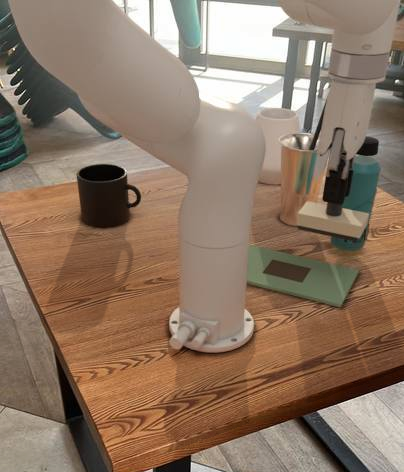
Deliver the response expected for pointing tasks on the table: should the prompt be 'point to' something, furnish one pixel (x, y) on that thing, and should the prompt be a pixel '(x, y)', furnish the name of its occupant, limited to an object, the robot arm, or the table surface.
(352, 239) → the scrub brush
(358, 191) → the beverage bottle
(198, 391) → the table surface
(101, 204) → the mug
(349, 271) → the mat
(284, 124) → the cup
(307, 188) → the copper tumbler with straw
